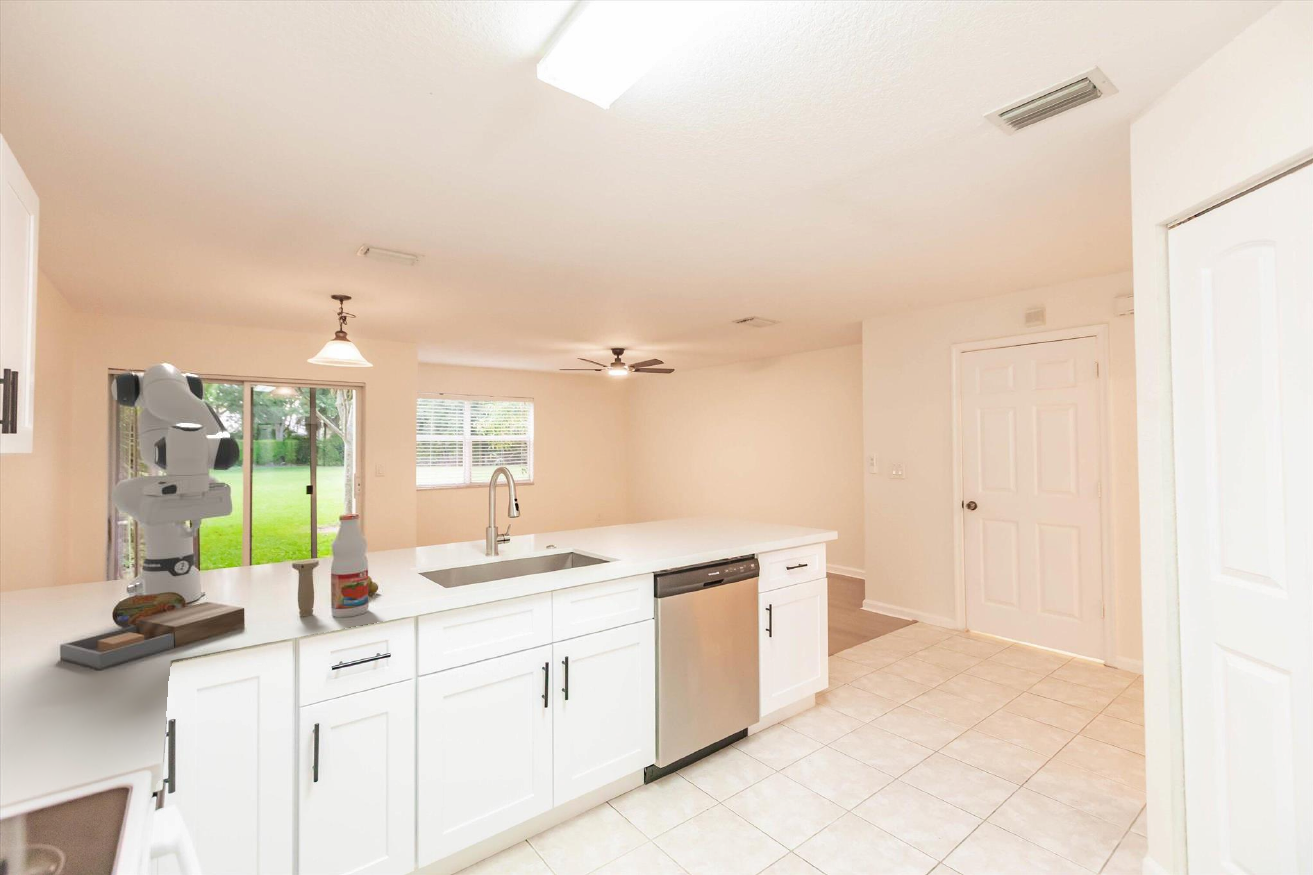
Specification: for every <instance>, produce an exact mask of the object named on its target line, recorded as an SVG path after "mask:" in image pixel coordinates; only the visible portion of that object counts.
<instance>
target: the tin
mask: <svg viewBox="0 0 1313 875" xmlns="http://www.w3.org/2000/svg"><path fill="white" fill-rule="evenodd" d="M128 597H129V596H128ZM125 598H126V597H125ZM184 607H187V603H186V601H185V599H184V598H183V596H181V595H180V594H178V593H175V592H165V593H157V594H149V595H140V596H133V597H129V598H126V599H124V600H122V601H121V602H119V601H118V603H117V604H116V605H115V606H114V608H113V610H112V615H111V616H112V620H113V622H114V624H115V625H117V627H120V628H121V629H124V628H128V627H131V626H136V619H139V618H143V617H147V616H152V615H156V614H160V613H164V612H168V611H172V610H176V609H180V608H184Z"/></svg>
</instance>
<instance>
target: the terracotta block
mask: <svg viewBox="0 0 1313 875" xmlns="http://www.w3.org/2000/svg"><path fill="white" fill-rule="evenodd" d="M141 641H144V635H141V634H136V633H131V632H129V633H125V634H121V635H117V636H113V637H110V638H106V639H102V640H98V652H106V651H109V650H113V649H116V648H120V647H124V646H127V645H131V644H134V643H138V642H141Z"/></svg>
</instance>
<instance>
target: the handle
mask: <svg viewBox="0 0 1313 875" xmlns="http://www.w3.org/2000/svg"><path fill="white" fill-rule="evenodd" d="M291 564H292V565H291V567H292V568H293V569H294V570H296V571H298V588H297V604H298V605H297V606H298V610H299V611H298V613H299V617H308V616H311V615H313V613H314V609H313V608H314V605H315V603H314V602H315V589H314V587H315V586H314V576H313V575H314V574H313V572H314V569H315V568H317V567H318V566H319V564H320V560H318V559H307V560H306V559H305V560H298V561H294V562H292V563H291Z"/></svg>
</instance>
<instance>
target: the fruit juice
mask: <svg viewBox="0 0 1313 875" xmlns="http://www.w3.org/2000/svg"><path fill="white" fill-rule="evenodd" d="M338 517H339V518H338V520H339V522H340V523H339V524H340V526H339V528H338V532H337V534H336V536H335V538H334V540H332V543H331V546H330V549H331V554H332V560H331V563H330V592H331V593H330V595H331V598H330V599H331V601H330V602H331V604H330V606H331V610H330V612H331V615H332V616H333V617H335V618H350V617H355V616H356V617H357V616H359V615H362V614H365V613H367V611H368V610H369V604H370V603H369V595H368V576H369V564H368V563H369V561H368V558H367V556H366V553H367V549H368V541H367V539H366V537H365V536H364V535H363V533H362V531H361V529H360V525H359V523H358V522H359V518H360V516H359V514H358V513H347V514H346V513H344V514H341V515H339V516H338Z"/></svg>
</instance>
